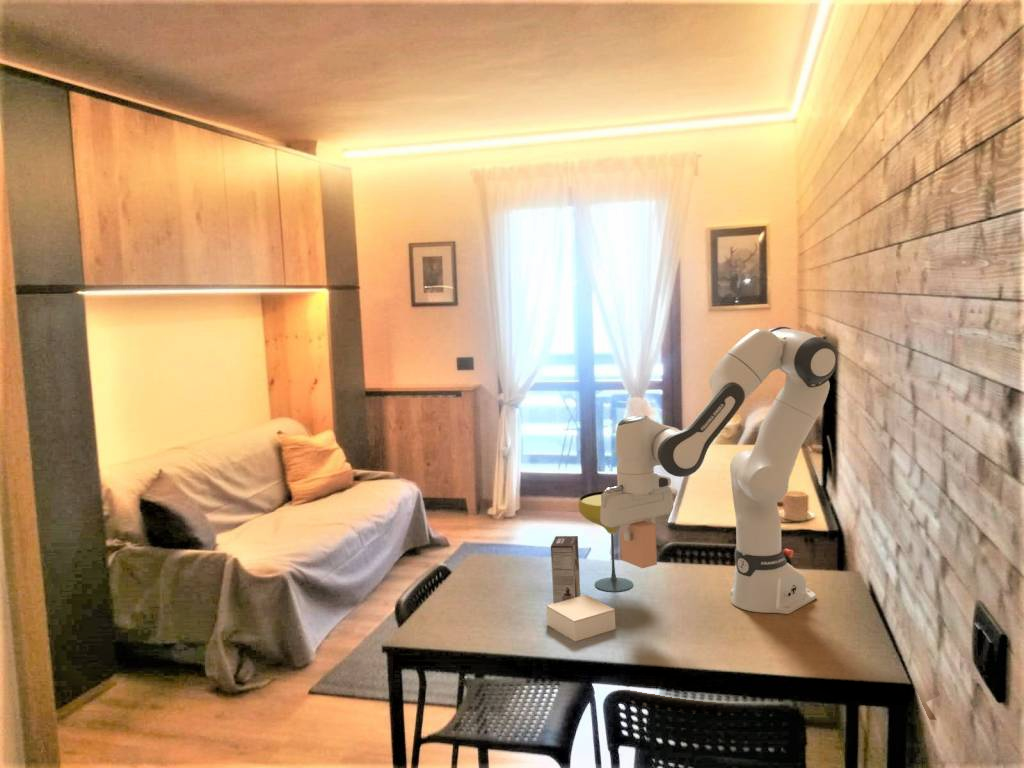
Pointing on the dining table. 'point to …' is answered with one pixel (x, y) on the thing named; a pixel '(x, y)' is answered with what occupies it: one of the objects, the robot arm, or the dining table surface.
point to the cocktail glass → (591, 511)
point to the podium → (580, 617)
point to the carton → (640, 545)
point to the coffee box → (565, 568)
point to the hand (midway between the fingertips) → (638, 537)
